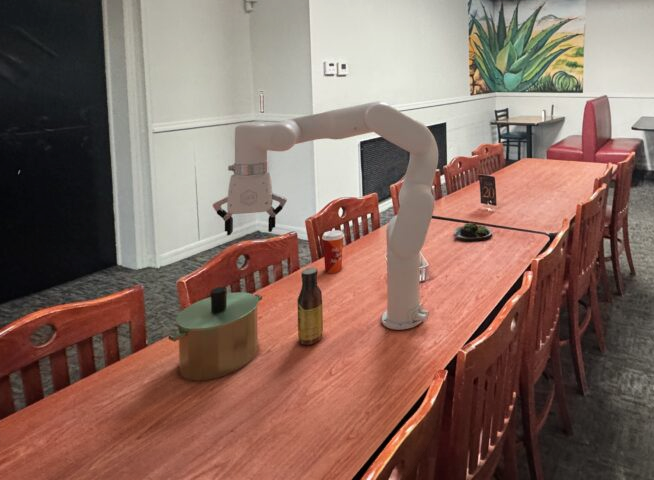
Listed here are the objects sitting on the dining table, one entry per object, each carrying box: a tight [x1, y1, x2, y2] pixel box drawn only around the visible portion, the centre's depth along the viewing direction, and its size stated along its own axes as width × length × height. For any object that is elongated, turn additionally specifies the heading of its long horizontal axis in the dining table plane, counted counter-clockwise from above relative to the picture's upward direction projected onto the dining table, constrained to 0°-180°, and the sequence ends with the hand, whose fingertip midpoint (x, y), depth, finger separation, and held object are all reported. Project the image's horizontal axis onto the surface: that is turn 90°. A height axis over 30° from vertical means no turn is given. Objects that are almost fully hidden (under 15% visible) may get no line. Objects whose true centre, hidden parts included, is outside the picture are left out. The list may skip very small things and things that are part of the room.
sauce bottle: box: [296, 266, 324, 346], centre depth 123 cm, size 7×6×20 cm
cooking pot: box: [168, 293, 263, 381], centre depth 115 cm, size 17×22×12 cm
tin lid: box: [175, 286, 260, 331], centre depth 114 cm, size 18×18×6 cm
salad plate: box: [453, 222, 493, 242], centre depth 207 cm, size 19×18×5 cm
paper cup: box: [321, 229, 345, 274], centre depth 167 cm, size 8×8×14 cm
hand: (250, 231), depth 120 cm, fingers open, 9 cm apart
